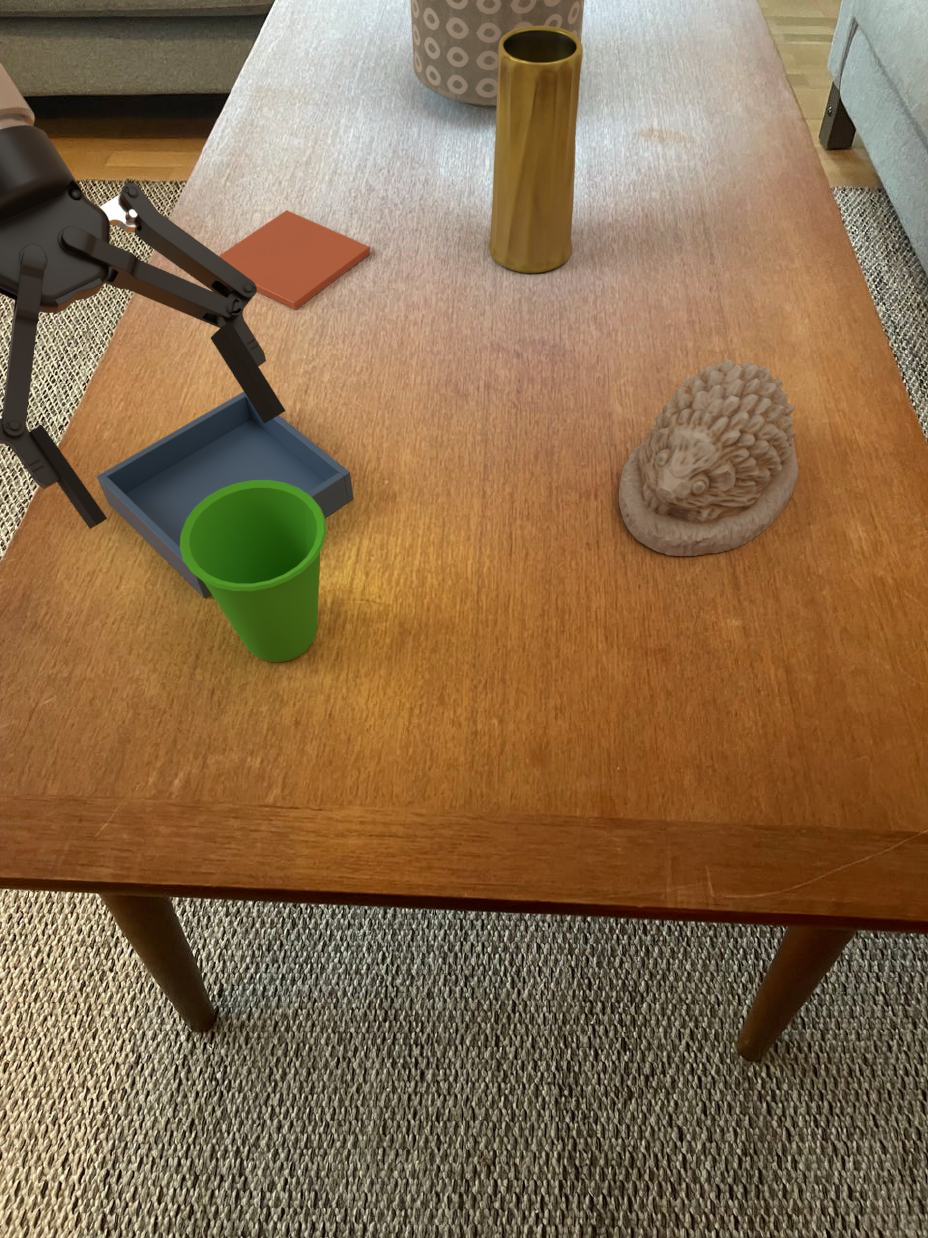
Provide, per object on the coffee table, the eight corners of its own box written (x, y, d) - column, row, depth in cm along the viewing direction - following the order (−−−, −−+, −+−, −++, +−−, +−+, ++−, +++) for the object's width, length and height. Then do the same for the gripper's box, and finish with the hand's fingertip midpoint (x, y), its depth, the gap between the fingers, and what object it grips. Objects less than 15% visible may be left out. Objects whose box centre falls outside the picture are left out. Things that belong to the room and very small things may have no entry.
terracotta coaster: (295, 310, 92) (293, 302, 91) (210, 269, 96) (209, 261, 95) (370, 253, 97) (369, 246, 96) (287, 216, 101) (286, 209, 100)
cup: (191, 630, 70) (151, 527, 61) (295, 564, 74) (271, 457, 65) (264, 711, 66) (231, 613, 57) (370, 637, 70) (355, 534, 61)
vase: (514, 284, 94) (522, 76, 78) (473, 240, 98) (473, 34, 83) (587, 259, 96) (609, 52, 81) (544, 217, 100) (556, 13, 85)
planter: (564, 49, 122) (577, -127, 107) (587, 128, 111) (605, -57, 96) (411, 56, 121) (402, -120, 107) (418, 136, 110) (410, -49, 95)
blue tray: (204, 598, 72) (194, 572, 69) (107, 502, 78) (95, 475, 75) (354, 498, 78) (350, 471, 75) (253, 416, 83) (247, 388, 81)
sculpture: (580, 508, 77) (593, 410, 69) (702, 398, 84) (727, 298, 76) (710, 588, 72) (739, 493, 64) (827, 464, 79) (867, 365, 71)
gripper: (151, 108, 66) (320, 389, 72) (-222, 264, 56) (10, 577, 62) (176, 51, 60) (361, 365, 65) (-240, 216, 50) (21, 571, 55)
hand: (190, 469), depth 63 cm, fingers open, 13 cm apart
